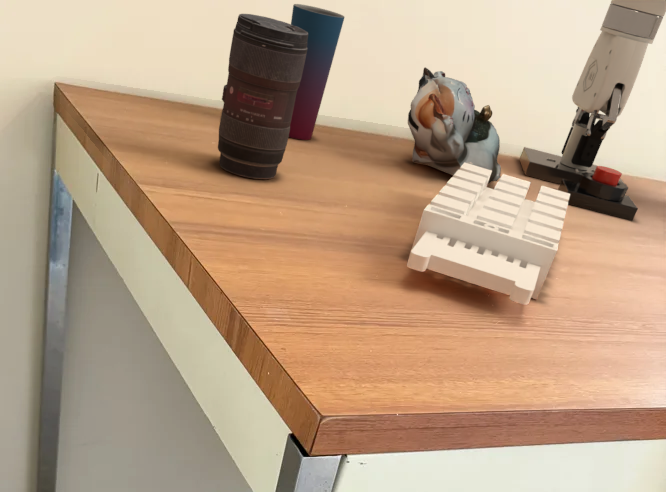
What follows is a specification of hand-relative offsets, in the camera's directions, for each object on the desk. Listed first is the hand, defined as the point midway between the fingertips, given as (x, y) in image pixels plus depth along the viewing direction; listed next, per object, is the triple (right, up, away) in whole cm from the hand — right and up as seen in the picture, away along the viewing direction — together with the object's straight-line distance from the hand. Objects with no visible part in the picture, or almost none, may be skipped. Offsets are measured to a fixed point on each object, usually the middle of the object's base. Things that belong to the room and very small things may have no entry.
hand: (576, 159), depth 128 cm
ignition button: (0, -9, -11) cm, 14 cm away
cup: (-44, -2, -12) cm, 46 cm away
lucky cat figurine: (-23, -7, -11) cm, 26 cm away
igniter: (-1, -11, -9) cm, 14 cm away
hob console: (-1, -2, +2) cm, 3 cm away
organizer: (-25, -29, -39) cm, 55 cm away
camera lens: (-50, -16, -32) cm, 62 cm away
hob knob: (0, -1, +1) cm, 1 cm away
